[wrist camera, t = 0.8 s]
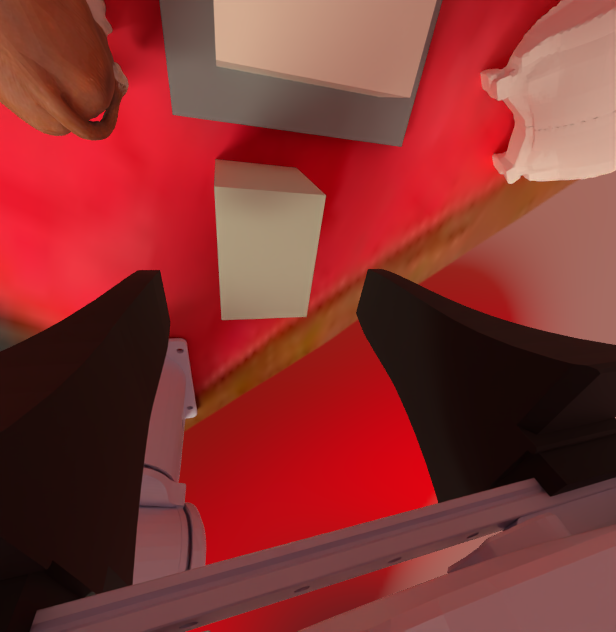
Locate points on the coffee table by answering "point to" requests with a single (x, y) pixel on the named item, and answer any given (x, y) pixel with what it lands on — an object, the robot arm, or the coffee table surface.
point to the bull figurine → (59, 66)
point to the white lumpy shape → (561, 95)
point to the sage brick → (265, 239)
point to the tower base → (267, 94)
